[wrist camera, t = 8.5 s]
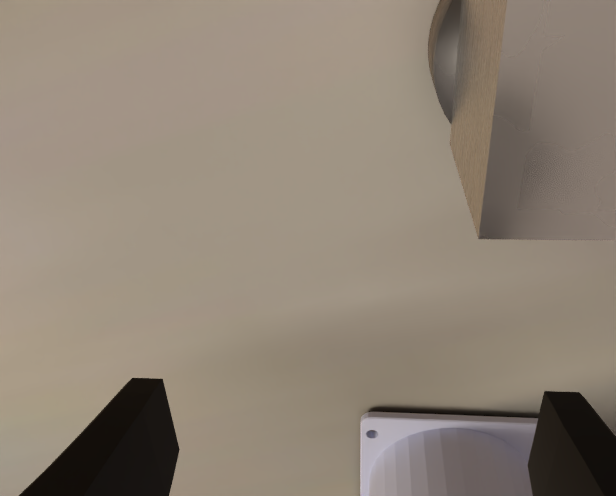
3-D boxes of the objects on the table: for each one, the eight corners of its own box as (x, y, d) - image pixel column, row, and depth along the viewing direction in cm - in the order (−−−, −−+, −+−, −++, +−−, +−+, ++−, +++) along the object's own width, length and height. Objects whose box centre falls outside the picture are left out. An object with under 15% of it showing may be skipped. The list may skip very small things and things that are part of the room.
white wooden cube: (623, 142, 17) (720, 241, 12) (449, 143, 17) (477, 239, 12) (669, -48, 14) (815, -16, 10) (465, -40, 15) (508, -6, 10)
